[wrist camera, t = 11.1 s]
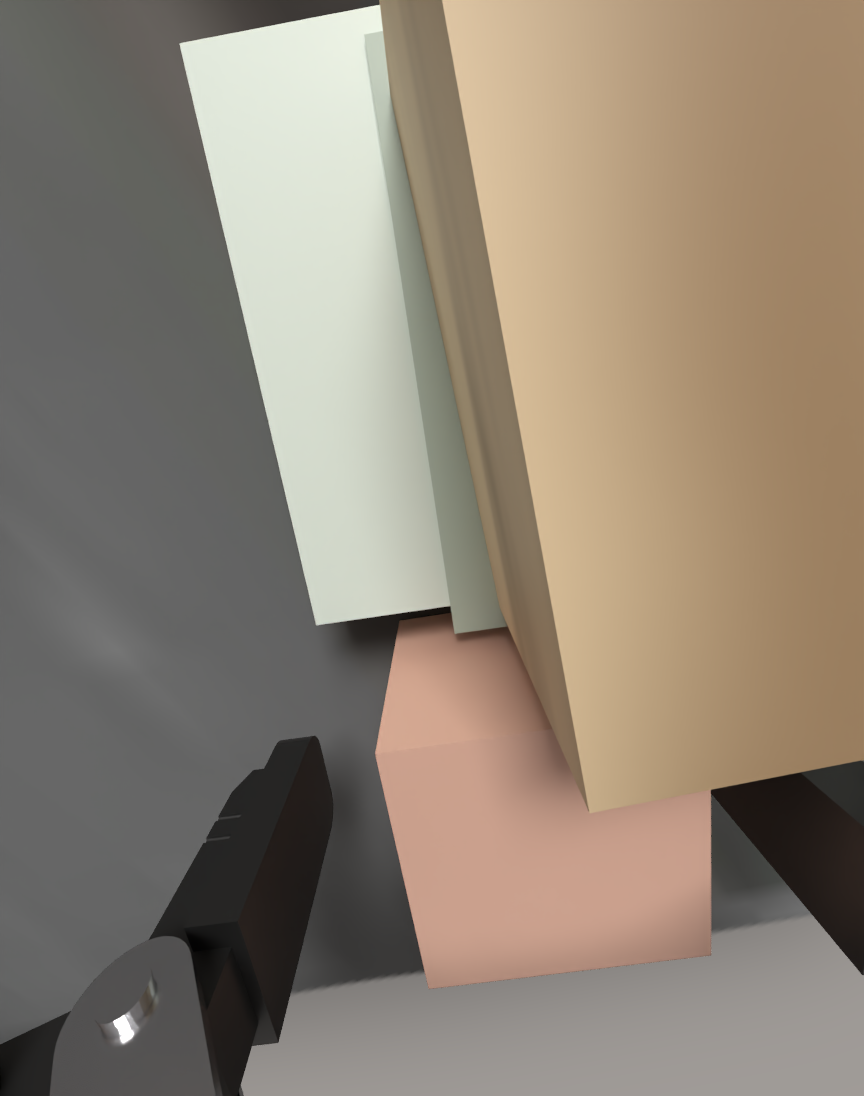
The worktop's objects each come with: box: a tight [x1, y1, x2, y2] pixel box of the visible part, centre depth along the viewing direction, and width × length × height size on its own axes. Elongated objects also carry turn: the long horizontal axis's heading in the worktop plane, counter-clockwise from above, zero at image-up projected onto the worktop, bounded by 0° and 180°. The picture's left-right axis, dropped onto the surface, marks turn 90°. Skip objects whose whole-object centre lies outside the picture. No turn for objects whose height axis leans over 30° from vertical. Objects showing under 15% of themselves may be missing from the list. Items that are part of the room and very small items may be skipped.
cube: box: [375, 613, 711, 989], centre depth 9 cm, size 5×5×5 cm
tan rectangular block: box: [379, 0, 864, 813], centre depth 5 cm, size 5×9×5 cm, turn 13°
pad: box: [180, 5, 508, 634], centre depth 8 cm, size 12×11×2 cm
